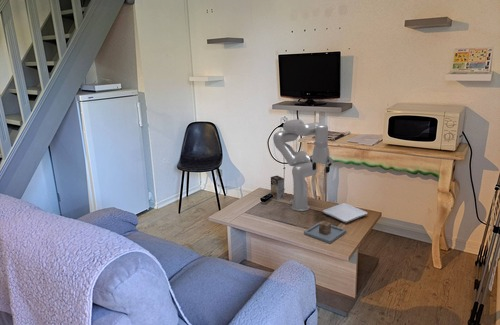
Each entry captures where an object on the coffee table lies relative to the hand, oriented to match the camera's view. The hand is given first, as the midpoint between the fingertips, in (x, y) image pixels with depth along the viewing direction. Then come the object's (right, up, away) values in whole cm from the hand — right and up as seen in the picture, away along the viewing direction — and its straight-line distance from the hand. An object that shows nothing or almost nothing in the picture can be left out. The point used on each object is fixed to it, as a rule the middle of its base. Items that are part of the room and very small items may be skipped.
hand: (320, 171), depth 226 cm
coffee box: (-24, -21, +47) cm, 57 cm away
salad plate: (+18, -30, +12) cm, 37 cm away
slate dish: (0, -37, -11) cm, 39 cm away
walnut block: (0, -36, -12) cm, 38 cm away
